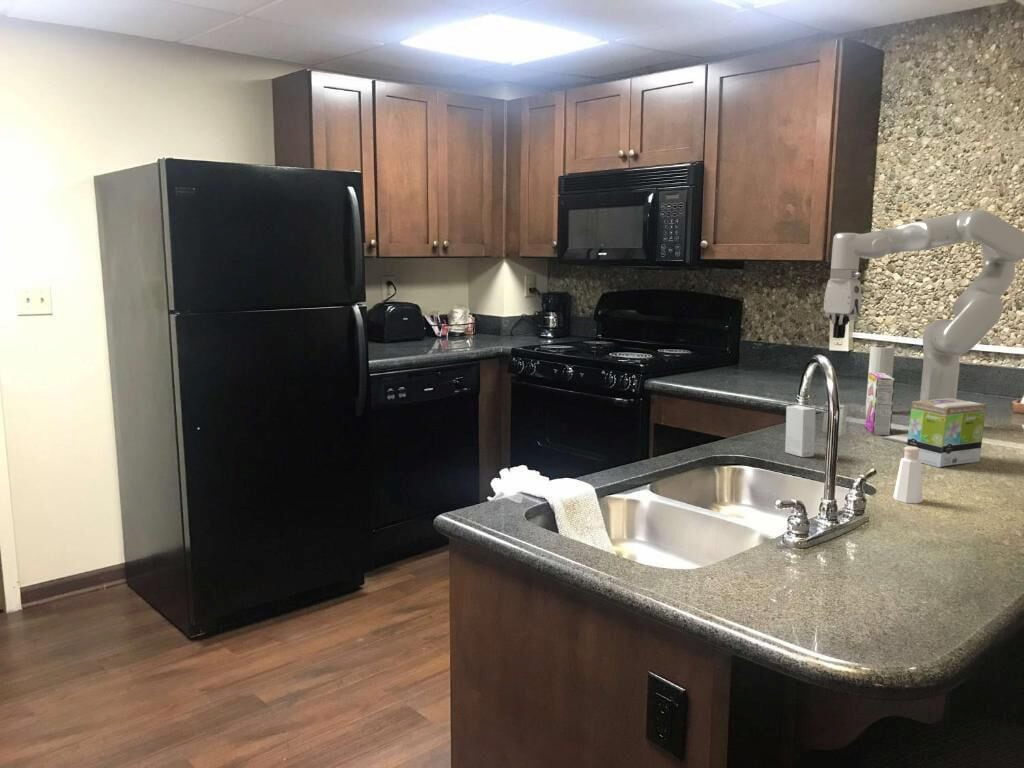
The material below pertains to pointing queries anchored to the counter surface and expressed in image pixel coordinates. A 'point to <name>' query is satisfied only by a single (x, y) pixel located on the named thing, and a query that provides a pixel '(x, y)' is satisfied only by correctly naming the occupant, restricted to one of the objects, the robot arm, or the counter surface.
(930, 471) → the counter surface
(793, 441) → the skincare box
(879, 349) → the paper towel roll
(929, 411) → the tea box
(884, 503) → the counter surface
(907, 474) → the pepper shaker
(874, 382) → the candy bar box
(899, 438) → the mat
